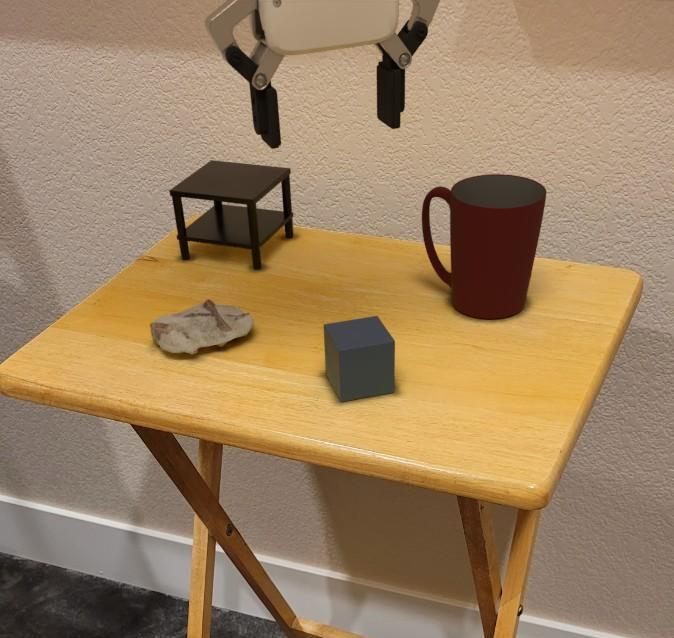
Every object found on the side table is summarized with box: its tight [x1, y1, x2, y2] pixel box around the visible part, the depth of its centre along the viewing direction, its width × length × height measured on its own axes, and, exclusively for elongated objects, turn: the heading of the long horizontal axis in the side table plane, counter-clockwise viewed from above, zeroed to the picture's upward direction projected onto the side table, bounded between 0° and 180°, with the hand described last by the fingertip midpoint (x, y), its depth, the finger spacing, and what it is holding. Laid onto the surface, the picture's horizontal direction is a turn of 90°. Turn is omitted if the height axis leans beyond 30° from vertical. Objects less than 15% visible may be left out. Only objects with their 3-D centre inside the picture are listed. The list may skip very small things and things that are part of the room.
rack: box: [169, 160, 295, 271], centre depth 99 cm, size 10×10×8 cm
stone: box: [149, 298, 255, 355], centre depth 85 cm, size 10×7×3 cm
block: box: [323, 315, 396, 403], centre depth 78 cm, size 5×5×5 cm
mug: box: [421, 173, 547, 320], centre depth 87 cm, size 12×9×11 cm
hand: (330, 133), depth 68 cm, fingers open, 9 cm apart
